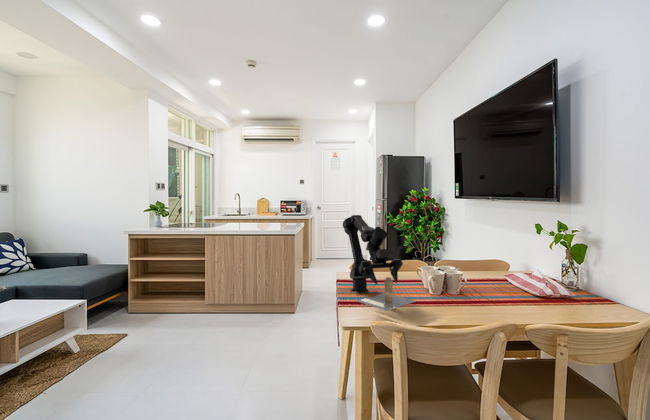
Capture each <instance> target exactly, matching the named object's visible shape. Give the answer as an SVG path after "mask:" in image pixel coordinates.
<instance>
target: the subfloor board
mask: <svg viewBox="0 0 650 420" xmlns="http://www.w3.org/2000/svg"><path fill="white" fill-rule="evenodd" d="M384 294H385V292H384V293H382V294H377V295H374V296H369V297H366V298H365V297H364V298H362V299H358V300H356V302H358V303H361V304H364V305H367V306H370V307H373V308H377V309H380V310H383V311H386V312H388V311H391V310H394V309H397V308H401V307H402V306H407V305H409V304H412V303H415V302H417V300H414V299H409V298H405V297H403V296H399V295H395V294H392V302H393V308H385V307H384Z"/></svg>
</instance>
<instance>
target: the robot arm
mask: <svg viewBox="0 0 650 420" xmlns="http://www.w3.org/2000/svg"><path fill="white" fill-rule="evenodd" d="M342 228H343V229H344V232H345V234H347V236H348V238H349V242H350V247H351V253H352V257H353V263H352V265H351V267H352V269H351V270H350V272H349V277H350V279H351V280H352V288H351V289H352V290H353V291H352V290H351V291H352V292H355V291H357V292H356V293H358V292H361V293H364V292H363V291H365V292H368V291H369V289H368V288H367V287H368V284H367V280H369V279H370V281H372V282H373V283H374V285H378V279H377V277H376V275H375V274H376V273H375V271H374V269H387V268H388V269H389V271H390V275H391V278H392V280H393V281H394V282H395V283H396V284H397V283H398V280H399V279H398V276H399V275H398V274H399V273H398V272H399V270H400V269H401V267H402V266H403V265H404V263H403V261H402V259H400V258H397V259H395V258H394V259H392V260H391V261H390V262H388V261H389V258H391V257H392V256H394V255H395V253H394V252H395V251H394V249H393V248H392V247H388V248H383V249H382V248H381V246H383V245H384V242H386V239H387V237H388V232H387V231H386V230H385V229H383V228H381V226H375V228H374V227H371V226H369V224H368V223H367V222H366V221H365V220H364V218H363V217H362V215H361V214H353V215H351V216H350V217H347V218H345V219H344V220H343V221H342ZM358 233H360V238H359V234H358ZM360 239H361V240H362V242H363V243H367V244H366V248H365V250H366V251H368V254H369V256H370V257H369V260H368V259H365V258H364V256H363V252H362V246H361V243H360V242H361V241H360ZM367 290H368V291H367Z"/></svg>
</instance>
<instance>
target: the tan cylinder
mask: <svg viewBox="0 0 650 420" xmlns="http://www.w3.org/2000/svg"><path fill="white" fill-rule="evenodd" d="M393 281H394V279H392V277H386V278H385V279H384V293H385V294H384V293H383V294H384V307H385V308H393V302H392V295H393V283H394V282H393Z"/></svg>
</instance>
